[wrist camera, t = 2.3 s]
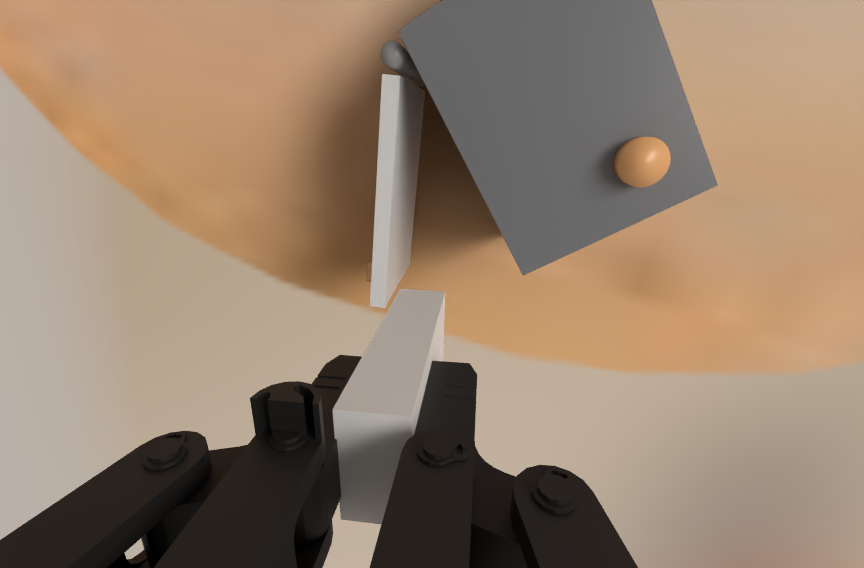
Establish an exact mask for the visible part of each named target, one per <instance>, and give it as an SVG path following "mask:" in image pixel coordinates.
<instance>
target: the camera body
mask: <svg viewBox="0 0 864 568" xmlns="http://www.w3.org/2000/svg"><path fill="white" fill-rule="evenodd" d="M398 32H399V34H400V36H401V38H402V40H403V42H404V44H405V46H406V48H407V50H408V52H409V54H410V56H411V58H412V60H413V62H414V64H415V66H416V67H417V69H418V71H419V73H420V75H421V77H422V79H423V81H424V83H425V85H426V87H427V89H428V91H429V93H430V95H431V97H432V99H433V101H434V103H435V105H436V107H437V109H438V110H439V112H440V114H441V116H442V118H443V120H444V122H445V124H446V126H447V128H448V130H449V132H450V134H451V136H452V138H453V140H454V142H455V144H456V146H457V148H458V150H459V152H460V154H461V155H462V157H463V159H464V161H465V163H466V165H467V167H468V169H469V171H470V173H471V175H472V177H473V179H474V181H475V183H476V185H477V187H478V189H479V191H480V193H481V195H482V197H483V198H484V200H485V202H486V204H487V206H488V208H489V210H490V212H491V214H492V216H493V218H494V220H495V222H496V224H497V226H498V228H499V230H500V232H501V234H502V236H503V238H504V240H505V242H506V243H507V245H508V247H509V249H510V251H511V253H512V255H513V257H514V259H515V261H516V263H517V265H518V267H519V269H520V271H521V273H522V275H525V274H527V273H530V272H532V271H534V270H536V269H538V268H540V267H543V266H545V265H547V264H549V263H551V262H553V261H555V260H558V259H560V258H562V257H564V256H566V255H568V254H571V253H573V252H575V251H577V250H579V249H581V248H584V247H586V246H588V245H590V244H592V243H594V242H596V241H599V240H601V239H603V238H605V237H607V236H609V235H612V234H614V233H616V232H618V231H620V230H622V229H625V228H627V227H629V226H631V225H633V224H635V223H637V222H640V221H642V220H644V219H646V218H648V217H650V216H653V215H655V214H657V213H659V212H661V211H663V210H666V209H668V208H670V207H672V206H674V205H676V204H678V203H681V202H683V201H685V200H687V199H689V198H691V197H694V196H696V195H698V194H700V193H702V192H704V191H707V190H709V189H711V188H713V187H715V186H717V182H716V179H715V176H714V174H713V171H712V168H711V165H710V162H709V160H708V157H707V154H706V151H705V148H704V146H703V143H702V140H701V137H700V134H699V132H698V129H697V126H696V123H695V120H694V118H693V115H692V112H691V109H690V106H689V104H688V101H687V98H686V95H685V92H684V90H683V87H682V84H681V81H680V78H679V76H678V73H677V70H676V67H675V64H674V62H673V59H672V56H671V53H670V50H669V48H668V45H667V42H666V39H665V36H664V34H663V31H662V28H661V25H660V22H659V20H658V17H657V14H656V11H655V8H654V6H653V3H652V0H441V2H439V3H438V4H436V5H435V6H433V7H432V8H430V9H429V10H428V11H426V12H425V13H423V14H422V15H420V16H419V17H417V18H416V19H414V20H413V21H412V22H410V23H409V24H407V25H406V26H404V27H403V28H401V29H400V30H399V31H398Z"/></svg>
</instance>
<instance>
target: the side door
mask: <svg viewBox="0 0 864 568" xmlns="http://www.w3.org/2000/svg"><path fill="white" fill-rule="evenodd" d="M381 58H382V61H383V62H384V63H385V64H386V65H387V66H388V67H390V68H391V69H393V70H394V71H396V72H398V73H399V74H401V75H402V76H404V77H405V78H407V79H408V80H410V81H411V82H413V83H414V84H416V85H417V86H424V85H425V83H424V81H423V79H422V77H421V75H420V73H419V71H418V69H417V67H416V66H415V64H414V62H413V60H412V58H411V56H410V54H409V53H408V52H407V51H406V50H405V49H404V48H403V47H402V46H401V45H400V44H399V43H397V42H395V41H390V42H387V43H386V44H385V45H384V46H383V48H382V50H381ZM408 80H406V79H404V78H403V77H401V76H399V75H389V74H382V86H381V105H380V124H379V143H378V162H377V181H376V200H375V219H374V238H373V257H372V258H371V259H370V260H369V261H368V266H367V281H369V282H371V294H370V306H374V307H381V308H385V306H386V305H387V303H388V301H389V300H390V298H391V296H392V294H393V293H394V291H395V289H396V287H397V286H398V284H399V282H400V280H401V279H402V277H403V275H404V274H405V272H406V270H407V268H408V267H409V265H410V259H411V247H412V236H413V224H414V213H415V201H416V190H417V178H418V166H419V155H420V143H421V132H422V120H423V108H424V97H425V91H423V90H422V89H420V88H419V87H417V86H415V85H414V84H412V83H411V82H409V81H408Z"/></svg>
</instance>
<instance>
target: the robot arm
mask: <svg viewBox="0 0 864 568" xmlns="http://www.w3.org/2000/svg"><path fill="white" fill-rule="evenodd" d="M444 312H445V291H427V290H410V289H400V290H399V292H398V294H397V296H396V297H395V299H394V301H393V303H392V305H391V306H390V308H389V310H388V312H387V313H386V315H385V317H384V319H383V321H382V322H381V324H380V326H379V328H378V329H377V331H376V333H375V335H374V337H373V338H372V340H371V342H370V344H369V345H368V347H367V349H366V351H365V353H364V354H363V356H362V357H359V356H346V355H339V356H338V357H336V358H334V359H333V360H331V361H330V362H328V363H327V364H326V365H325V366H324V367H323V369H322V370H321V371H320V373H319V374H318V377H317V378H316V379H315V380H314V382H313V383H312V384H308V383H304V382H283V383H279V384H274V385H271V386H269V387H267V388H265V389H262V390H260V391H259V392H257V393H256V394H255V395H254V396H252V397H251V398H250V401H251V408H252V414H253V419H254V420H253V421H254V427H255V434H256V435H255V436H254V438H253V439H252V440H251V442H250V443H249V444H248V445H244V446H240V447H233V448H225V449H218V450H211V451H209V450H208V445H207V442H206V439H205V437H204V436H202V435H201V434H199V433H197V432H191V431H180V432H172V433H168V434H165V435H162V436H159V437H156V438H154V439H152V440H150V441H148V442H146V443H145V444H143V445H141V446H139V447H138V448H136V449H135V450H133V451H132V452H130V453H129V454H127V455H126V456H124V457H123V458H121V459H120V460H118V461H117V462H115V463H114V464H112V465H111V466H110V467H108V468H107V469H105V470H104V471H102V472H101V473H99V474H98V475H96V476H95V477H93V478H92V479H90V480H89V481H87V482H86V483H84V484H83V485H81V486H80V487H78V488H77V489H75V490H74V491H72V492H71V493H70V494H68V495H67V496H65V497H64V498H62V499H61V500H59V501H58V502H56V503H55V504H53V505H52V506H50V507H49V508H47V509H46V510H44V511H43V512H41V513H40V514H38V515H37V516H35V517H34V518H32V519H31V520H29V521H28V522H26V523H25V524H23V525H22V526H21V527H19V528H17V529H16V530H15V531H13V532H12V533H10V534H9V535H7V536H6V537H4V538H3V539H1V540H0V568H322V567H323V565H324V562H325V559H326V557H327V554H328V551H329V548H330V546H331V543H332V535H333V527H332V517H333V515H334V513H335V510H336V508H337V505H338V503H339V500H340V512H341V519H342V520H350V521H351V520H352V521H359V522H367V523H375V524H382V525H381V528H380V532H379V536H378V540H377V543H376V547H375V550H374V554H373V558H372V561H371V565H370V568H638V567H637V565H636V564H635V562H634V560H633V558H632V557H631V555H630V553H629V552H628V550H627V548H626V547H625V545H624V543H623V542H622V540H621V538H620V537H619V535H618V533H617V531H616V530H615V528H614V526H613V525H612V523H611V521H610V520H609V518H608V516H607V515H606V513H605V511H604V509H603V508H602V506H601V504H600V503H599V501H598V499H597V498H596V496H595V494H594V493H593V491H592V490H591V489H590V488H589V486H588V485H587V484H586V483H585V482H584V481H583V480H582V479H581V478H579V477H578V476H576V475H575V474H573V473H572V472H570V471H568V470H565V469H562V468H559V467H556V466H547V465H537V466H534V467H529V468H526V469H525V470H524V471H522V472H521V473H520V474H518V475H517V477H515V476H513V475H510V474H507V473H504V472H502V471H500V470H498V469H496V468H494V467H492V466H491V465H489V464H488V463H487V462H485V461H484V460H483V459H482V457H481V456H480V455H479V453H478V451H477V449H476V447H475V441H474V435H475V434H474V433H475V412H476V388H477V387H476V386H477V374H476V372H475V371H474V370H473V368H472V366H471V365H470V364H469V363H457V362H444V361H443V349H444V348H443V347H444ZM140 538H141V539H142V543H143V546H144V550H143V551H142V552H141V553H140V554H138V555H137V556H135V557H134V558H132V559H128V560H127V559H126V556H125V553H124V552H126V551H127V550H128V549H129V548H130V547H131V546H132V545H134V544H135V543H136V542H137V541H138V540H139V539H140Z"/></svg>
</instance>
